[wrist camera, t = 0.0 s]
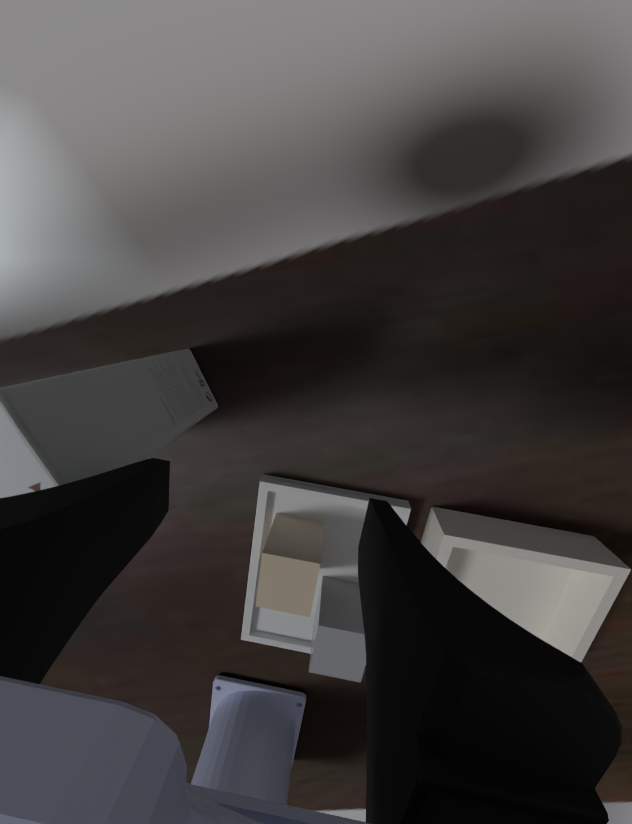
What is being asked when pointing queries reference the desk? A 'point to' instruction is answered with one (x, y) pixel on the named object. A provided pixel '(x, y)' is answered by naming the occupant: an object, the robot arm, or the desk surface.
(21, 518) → the robot arm
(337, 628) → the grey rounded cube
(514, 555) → the dish
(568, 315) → the desk surface
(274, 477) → the parts tray
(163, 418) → the skincare box
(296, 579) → the taupe rectangular block
